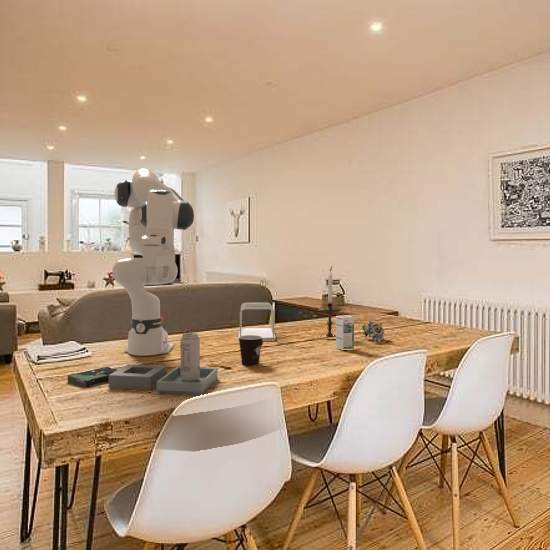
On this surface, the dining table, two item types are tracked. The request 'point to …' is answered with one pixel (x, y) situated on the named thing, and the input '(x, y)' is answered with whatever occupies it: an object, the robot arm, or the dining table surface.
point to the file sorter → (263, 332)
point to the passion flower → (374, 331)
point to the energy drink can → (190, 357)
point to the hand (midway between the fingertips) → (160, 280)
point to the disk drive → (91, 377)
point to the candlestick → (329, 306)
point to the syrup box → (345, 332)
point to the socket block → (137, 376)
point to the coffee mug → (250, 349)
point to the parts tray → (177, 386)
